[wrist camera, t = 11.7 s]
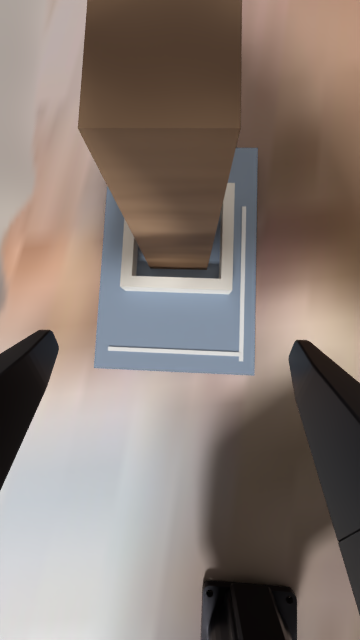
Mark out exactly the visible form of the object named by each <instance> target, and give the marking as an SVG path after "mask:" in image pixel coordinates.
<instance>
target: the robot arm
mask: <svg viewBox="0 0 360 640" xmlns="http://www.w3.org/2000/svg"><path fill="white" fill-rule="evenodd" d="M58 350H59V346H58V343H57V341H56V339H55V336H54V334H53V332H52V331H51V330H38V331H37V332H35V333H33V334H32V335H30V336H28V337H27V338H25V339H24V340H22V341H20V342H19V343H17V344H15V345H14V346H12V347H11V348H9V349H7V350H6V351H4V352H2V353H1V354H0V490H1V488H2V486H3V483H4V481H5V479H6V477H7V475H8V472H9V470H10V468H11V466H12V463H13V461H14V459H15V457H16V455H17V452H18V450H19V448H20V446H21V443H22V441H23V439H24V437H25V435H26V432H27V430H28V428H29V426H30V423H31V421H32V419H33V417H34V415H35V412H36V410H37V408H38V406H39V403H40V401H41V399H42V397H43V395H44V392H45V390H46V388H47V385H48V382H49V379H50V376H51V373H52V370H53V367H54V363H55V360H56V357H57V354H58ZM289 365H290V371H291V377H292V383H293V388H294V394H295V399H296V403H297V406H298V410H299V413H300V416H301V420H302V423H303V426H304V430H305V433H306V436H307V440H308V443H309V446H310V450H311V453H312V456H313V460H314V463H315V466H316V470H317V473H318V477H319V480H320V483H321V487H322V490H323V493H324V497H325V500H326V503H327V507H328V510H329V513H330V517H331V520H332V523H333V527H334V530H335V533H336V537H337V540H338V541H339V542H338V544H339V547H340V551H341V554H342V557H343V561H344V564H345V567H346V571H347V574H348V577H349V581H350V584H351V587H352V591H353V594H354V597H355V601H356V604H357V607H358V611H359V614H360V383H359V382H358V381H356V380H355V379H354V378H353V377H352V376H350V375H349V374H348V373H347V372H346V371H344V370H343V369H342V368H341V367H340V366H338V365H337V364H336V363H335V362H334V361H332V360H331V359H330V358H329V357H328V356H326V355H325V354H324V353H323V352H322V351H320V350H319V349H318V348H317V347H316V346H314V345H313V344H312V343H311V342H309V341H307V340H296V341H295V342H294V345H293V347H292V350H291V352H290V355H289ZM207 590H212V591H211V592H208V591H207ZM287 596H291V597H290V598H286V597H287ZM201 640H297V599H296V596H295V593H294V591H293V590H292V589H291V588H290V587H285V586H273V585H260V584H248V583H235V582H222V581H206V582H205V583H204V584H203V587H202V618H201Z"/></svg>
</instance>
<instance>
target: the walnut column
mask: <svg viewBox="0 0 360 640" xmlns="http://www.w3.org/2000/svg"><path fill="white" fill-rule="evenodd" d="M241 34H242V0H87V14H86V27H85V40H84V54H83V67H82V80H81V94H80V107H79V120H78V129H79V131H80V133H81V135H82V137H83V139H84V141H85V143H86V145H87V147H88V149H89V151H90V153H91V155H92V157H93V158H94V160H95V162H96V164H97V166H98V168H99V170H100V172H101V174H102V176H103V178H104V180H105V182H106V184H107V186H108V188H109V190H110V191H111V193H112V195H113V197H114V199H115V201H116V203H117V205H118V207H119V209H120V211H121V213H122V215H123V217H124V219H125V221H126V222H127V224H128V226H129V228H130V230H131V232H132V234H133V236H134V238H135V240H136V242H137V244H138V246H139V248H140V250H141V252H142V253H143V255H144V257H145V259H146V261H147V263H148V265H149V267H150V269H194V270H207V268H208V263H209V259H210V255H211V251H212V246H213V242H214V238H215V234H216V229H217V225H218V221H219V217H220V213H221V208H222V204H223V200H224V196H225V191H226V187H227V183H228V179H229V175H230V170H231V166H232V162H233V158H234V153H235V149H236V145H237V141H238V137H239V132H240V127H241Z"/></svg>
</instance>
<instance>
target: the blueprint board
mask: <svg viewBox="0 0 360 640" xmlns="http://www.w3.org/2000/svg"><path fill="white" fill-rule="evenodd" d="M257 166H258V148H236V149H235V153H234V158H233V162H232V166H231V170H230V175H229V179H228V183H227V187H226V191H225V196H224V200H223V204H222V208H221V213H220V217H219V221H218V225H217V229H216V234H215V238H214V242H213V246H212V251H211V255H210V259H209V263H208V268H207V270H194V269H150V267H149V265H148V263H147V261H146V259H145V257H144V255H143V253H142V252H141V250H140V248H139V246H138V244H137V242H136V240H135V238H134V236H133V234H132V232H131V230H130V228H129V226H128V224H127V222H126V221H125V219H124V217H123V215H122V213H121V211H120V209H119V207H118V205H117V203H116V201H115V199H114V197H113V195H112V193H111V191H110V190H109V188H108V186H107V197H106V210H105V224H104V238H103V252H102V265H101V279H100V293H99V306H98V320H97V334H96V348H95V361H94V368H105V369H127V370H148V371H169V372H190V373H211V374H233V375H254V362H255V296H256V231H257Z"/></svg>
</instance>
